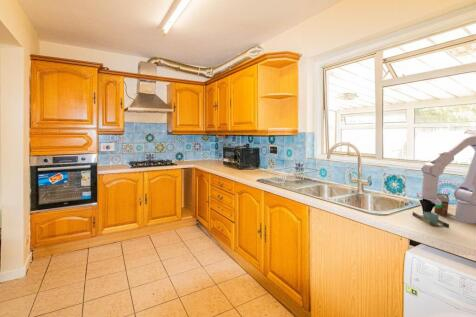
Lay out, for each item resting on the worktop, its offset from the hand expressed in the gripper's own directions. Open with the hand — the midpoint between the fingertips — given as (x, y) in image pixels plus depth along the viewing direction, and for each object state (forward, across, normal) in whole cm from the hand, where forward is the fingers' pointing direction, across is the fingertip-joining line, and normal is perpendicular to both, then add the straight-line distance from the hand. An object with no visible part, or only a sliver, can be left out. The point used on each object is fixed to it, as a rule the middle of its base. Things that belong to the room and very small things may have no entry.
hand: (426, 215), depth 120 cm
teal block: (+2, +3, 0) cm, 4 cm away
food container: (+2, -12, +14) cm, 18 cm away
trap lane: (+2, +2, 0) cm, 3 cm away
